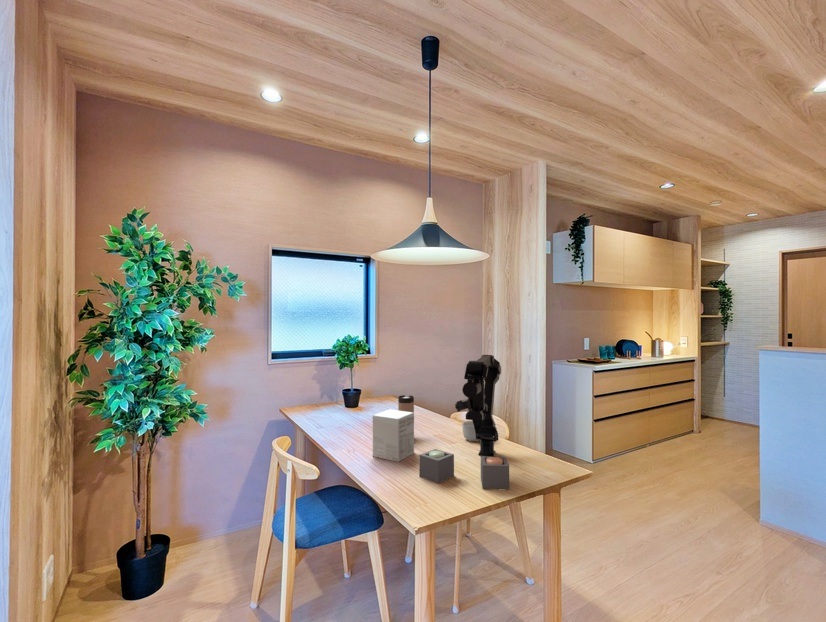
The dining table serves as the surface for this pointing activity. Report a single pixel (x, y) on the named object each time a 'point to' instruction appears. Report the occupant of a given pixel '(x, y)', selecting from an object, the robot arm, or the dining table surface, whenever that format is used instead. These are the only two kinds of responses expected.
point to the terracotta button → (494, 460)
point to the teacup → (469, 431)
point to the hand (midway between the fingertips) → (477, 433)
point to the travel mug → (406, 403)
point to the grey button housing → (436, 467)
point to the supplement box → (393, 434)
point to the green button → (436, 454)
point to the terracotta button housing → (494, 474)
